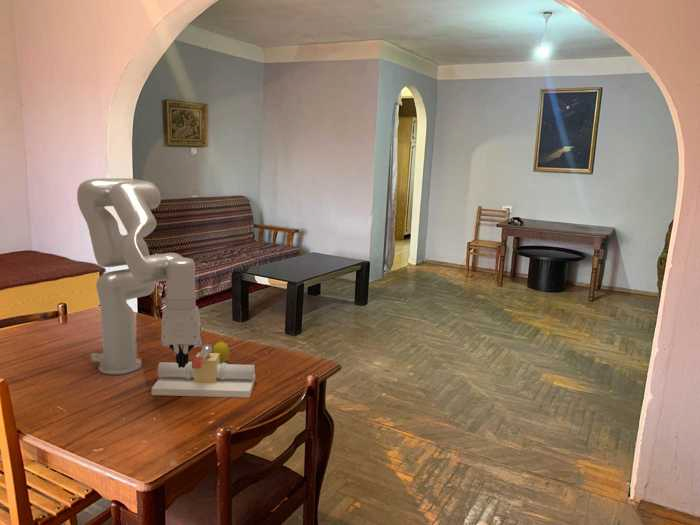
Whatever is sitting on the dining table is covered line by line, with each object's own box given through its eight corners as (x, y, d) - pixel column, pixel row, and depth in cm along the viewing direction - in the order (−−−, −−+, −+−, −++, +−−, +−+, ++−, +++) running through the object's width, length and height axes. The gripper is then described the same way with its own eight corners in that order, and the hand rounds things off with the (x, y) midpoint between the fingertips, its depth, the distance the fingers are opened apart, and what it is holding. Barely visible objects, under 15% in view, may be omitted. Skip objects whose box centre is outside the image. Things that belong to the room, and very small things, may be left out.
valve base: (151, 395, 154) (150, 360, 152) (164, 377, 166) (163, 345, 164) (249, 397, 156) (249, 363, 153) (255, 380, 167) (255, 348, 165)
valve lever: (202, 349, 162) (202, 343, 162) (212, 349, 162) (212, 343, 162) (190, 368, 148) (190, 362, 147) (201, 368, 148) (201, 362, 148)
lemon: (225, 368, 175) (225, 345, 174) (209, 366, 176) (209, 343, 175) (232, 362, 181) (232, 339, 179) (216, 360, 182) (216, 337, 180)
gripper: (149, 306, 143) (151, 370, 146) (206, 307, 144) (206, 371, 148) (157, 298, 150) (159, 360, 154) (211, 299, 151) (211, 361, 155)
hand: (182, 365), depth 151 cm, fingers closed
